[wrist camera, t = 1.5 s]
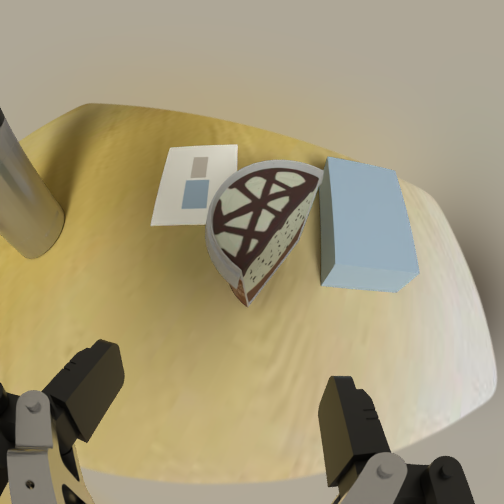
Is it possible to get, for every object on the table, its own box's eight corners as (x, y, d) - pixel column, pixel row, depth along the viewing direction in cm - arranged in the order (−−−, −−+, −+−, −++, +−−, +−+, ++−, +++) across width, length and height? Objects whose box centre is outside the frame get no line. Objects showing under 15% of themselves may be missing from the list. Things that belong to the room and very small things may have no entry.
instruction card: (150, 226, 30) (150, 224, 30) (170, 148, 37) (169, 147, 37) (236, 224, 30) (236, 222, 30) (237, 145, 37) (237, 144, 37)
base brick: (321, 285, 27) (335, 263, 23) (318, 184, 34) (327, 156, 29) (396, 292, 27) (419, 273, 22) (380, 195, 34) (394, 170, 29)
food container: (260, 205, 32) (266, 137, 23) (305, 232, 30) (326, 167, 21) (189, 282, 27) (165, 226, 18) (238, 319, 25) (235, 276, 16)
